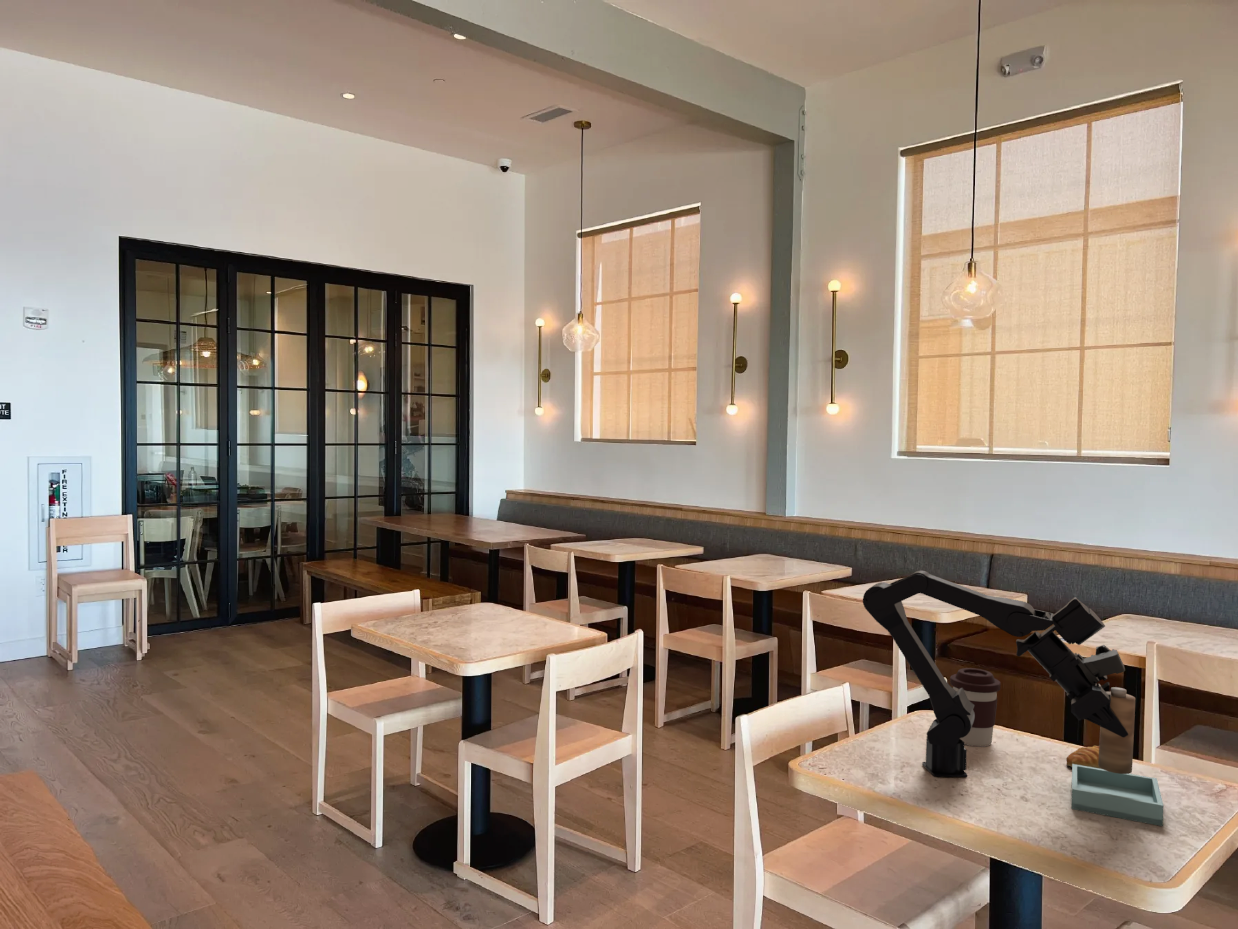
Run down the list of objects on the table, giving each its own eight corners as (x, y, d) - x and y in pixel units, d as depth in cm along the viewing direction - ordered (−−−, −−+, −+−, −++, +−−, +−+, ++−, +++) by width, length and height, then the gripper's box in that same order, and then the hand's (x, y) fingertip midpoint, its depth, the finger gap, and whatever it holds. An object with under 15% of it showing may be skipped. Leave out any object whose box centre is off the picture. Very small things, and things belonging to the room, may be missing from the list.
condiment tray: (1071, 808, 152) (1072, 789, 151) (1071, 782, 164) (1072, 764, 163) (1162, 826, 145) (1163, 805, 145) (1156, 797, 157) (1156, 778, 157)
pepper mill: (1120, 775, 151) (1124, 695, 150) (1092, 765, 155) (1095, 687, 155) (1138, 771, 153) (1142, 691, 153) (1109, 761, 158) (1113, 683, 157)
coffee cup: (993, 753, 178) (996, 681, 178) (943, 743, 184) (945, 673, 183) (1002, 739, 187) (1004, 670, 186) (954, 730, 192) (956, 663, 192)
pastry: (1085, 776, 167) (1086, 757, 167) (1056, 764, 173) (1056, 745, 173) (1119, 770, 171) (1120, 751, 171) (1089, 758, 177) (1090, 740, 177)
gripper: (1096, 644, 147) (1169, 720, 142) (1095, 624, 163) (1160, 691, 159) (1042, 682, 151) (1112, 757, 146) (1046, 659, 167) (1109, 726, 163)
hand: (1125, 731), depth 153 cm, fingers closed on pepper mill, 5 cm apart
